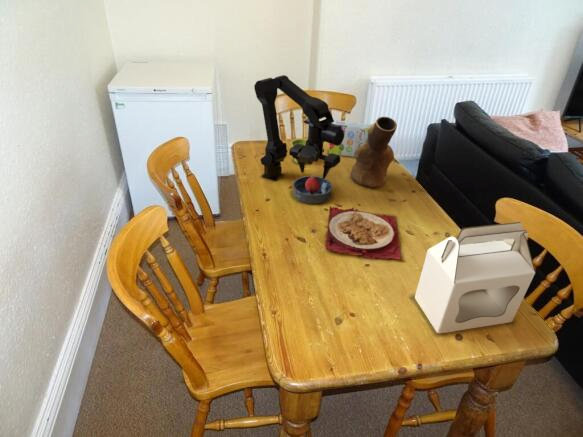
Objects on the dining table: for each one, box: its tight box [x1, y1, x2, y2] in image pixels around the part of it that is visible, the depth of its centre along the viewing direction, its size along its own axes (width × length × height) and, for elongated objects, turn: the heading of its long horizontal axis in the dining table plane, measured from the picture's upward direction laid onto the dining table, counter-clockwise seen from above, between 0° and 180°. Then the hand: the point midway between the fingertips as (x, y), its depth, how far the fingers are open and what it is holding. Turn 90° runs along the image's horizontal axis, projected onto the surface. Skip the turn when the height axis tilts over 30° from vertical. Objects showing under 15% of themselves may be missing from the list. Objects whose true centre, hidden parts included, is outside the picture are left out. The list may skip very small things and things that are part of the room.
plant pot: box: [290, 138, 308, 164], centre depth 182 cm, size 9×9×9 cm
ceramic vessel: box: [350, 116, 398, 189], centre depth 161 cm, size 16×22×30 cm
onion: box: [305, 175, 320, 194], centre depth 158 cm, size 6×6×8 cm
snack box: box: [328, 119, 373, 158], centre depth 188 cm, size 21×6×15 cm, turn 77°
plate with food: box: [325, 202, 402, 260], centre depth 139 cm, size 24×26×4 cm
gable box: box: [414, 221, 536, 334], centre depth 104 cm, size 22×13×28 cm, turn 102°
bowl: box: [292, 175, 333, 205], centre depth 160 cm, size 15×15×4 cm
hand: (313, 175), depth 156 cm, fingers open, 9 cm apart
